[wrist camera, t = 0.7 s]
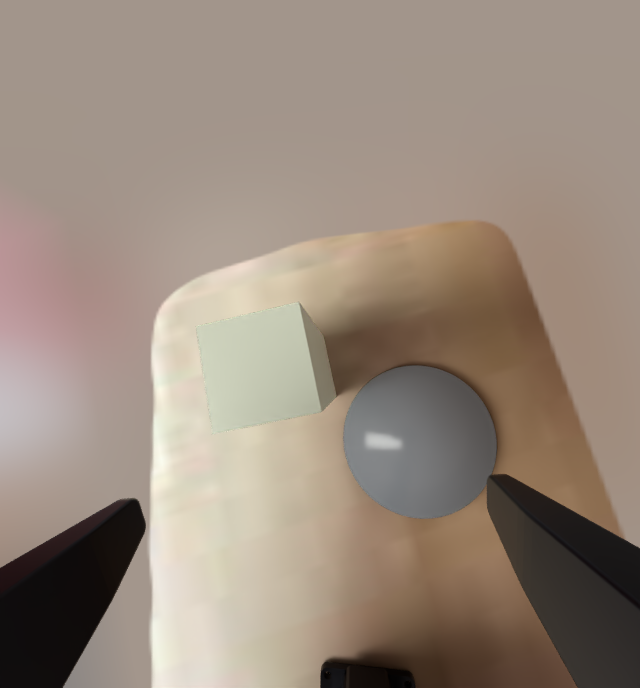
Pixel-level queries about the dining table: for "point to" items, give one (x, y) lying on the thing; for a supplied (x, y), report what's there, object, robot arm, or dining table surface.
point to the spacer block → (264, 368)
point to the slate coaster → (420, 441)
